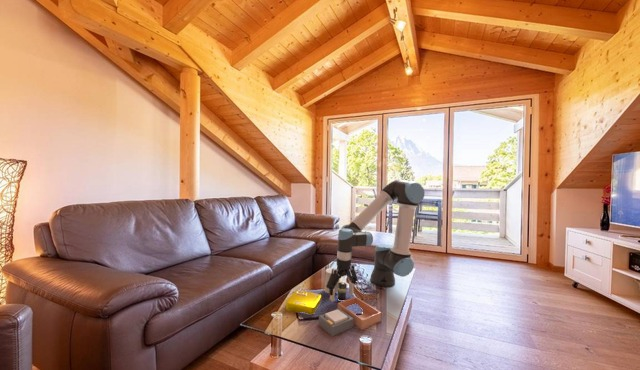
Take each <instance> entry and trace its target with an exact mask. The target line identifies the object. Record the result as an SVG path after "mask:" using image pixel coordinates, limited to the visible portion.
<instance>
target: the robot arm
mask: <svg viewBox="0 0 640 370" xmlns="http://www.w3.org/2000/svg"><path fill="white" fill-rule="evenodd" d="M424 198H425V189H424V186H423V185H422V184H421V183H419V182H417V181H414V180H405V179H395V180H393V181H391V182H389V183H388V184H387V185H386V186H384V187H383V188H382V189H381V190H380V191H379V194H378V195H377V196H376V198H374V199H373V201H371V202H370V203H369V205H367V206H366V208H364V209H363V210H362V211H361V212H360V213H359V214H358V215H357V216H356V217H355V219H353V220H352V221H351V222H350V223H349V224H344V225H343V226H342V227H341V228H340V229H339V230H338V234H337V235H338V237H337V252H336V253H337V254H336V269H332V273H331V276H330V278H329V281H328V283H327V286H326V287H327V288H328V289H329V294H328V295H329V300H330V301H331V302H333V303H334V302H335V295H336V294H335V289H334V287H335V286H336V284H337V282H338V281H339V279H340V280H341V279H342V277H347V278H348V279H349V282H348V283H349V284H348V294H349V295H351V296H353V295H354V289H355V285H356V283H357V282H358V280H359V279H358V276H357V273H356V270H355V266H354V265H353V264H352V253H353V248H357V247H358V248H359V247H360V248H361V247H368V246H372V245H373V244H374V243H373V242H374V236H373V233H371V231H363V230H364V229H365V228H366V227H367V226H368V225H369V224H370V223H371V222H372V221H373V220H374V219H375V218H376V216H378V215H379V214H380V213H381V212H382V211H383V210H384V209H385V208H386V207H387V206H388V205H389V204H392V203H393V202H394V201H396V200H397V201H396V204H397V205H398V212H397V213H398V214H397V220H396V226H395V232H394V233H395V234H394V241H393V245H392V244H386V243H385V244H383V243H382V244H377V245H376V246H375V248H374V249H375V250H374V262H373V268H372V272H371V274H370V278H369V280H370V281H371V283H373V284H374V285H376V286H379V287H392V286H394V285H395V284H396V278H395V275H396V276H398V277H407V276H408V275H410V274H411V273H412V271H413V270H414V267H415V261H413V259H412V258H411V257H412V252H411V251H410V245H411V236H412V230H413V224H414V219H415V218H414V217H415V210H416V208H418V207H419V203H421V202H422V201H423V200H424ZM338 274H339V275H340V276H338ZM339 282H340V281H339Z"/></svg>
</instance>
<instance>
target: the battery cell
mask: <svg viewBox="0 0 640 370" xmlns="http://www.w3.org/2000/svg"><path fill="white" fill-rule="evenodd" d="M347 285H348V284H347V283H346V282H343V281H342V282H339V284H338V294H337V299H339V300H345V299H346V300H347Z"/></svg>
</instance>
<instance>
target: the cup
mask: <svg viewBox="0 0 640 370" xmlns="http://www.w3.org/2000/svg"><path fill="white" fill-rule="evenodd" d="M332 269H337V267H327V268H326V269H325V277H324V279H325V280H324V292H325V293H326V292H328V293H329V289H328V288H327V287H326V286H327V283H328V281H329V278H330V276H331V273H332ZM338 276H340V275H339V274H338ZM340 280H341V278H340V279H339V281H338V282H337V284H336V286H335V287H334V289H335V293H336V292H338V284H339V283H340Z"/></svg>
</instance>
